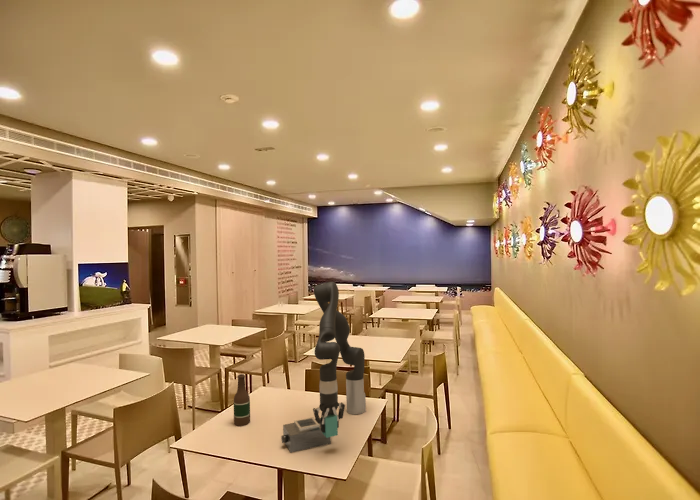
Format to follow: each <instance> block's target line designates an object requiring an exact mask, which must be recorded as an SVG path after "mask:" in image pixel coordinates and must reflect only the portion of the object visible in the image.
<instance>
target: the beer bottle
mask: <svg viewBox="0 0 700 500" xmlns="http://www.w3.org/2000/svg"><path fill="white" fill-rule="evenodd" d="M236 377H237V388H236V389H237V390H236V392H235V394H234V397H233V423H234V426H235V427H246V426H248V425H249V424H250V423H251V400H250V394H249V393H248V391H247V389H246V379H245V378H246V375H245V374H243V373H242V374H241V373H240V374H238V375H237V376H236Z"/></svg>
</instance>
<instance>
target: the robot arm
mask: <svg viewBox="0 0 700 500" xmlns="http://www.w3.org/2000/svg"><path fill="white" fill-rule="evenodd" d="M313 295H314V298H315V300H316V302H317V304H318V306H319V307H320V310H321V312H323V314H322V316H321V318H320V321H319V326H318V327H319V330H318V338H317V341H316V345H315V348H314V355H315V358H316V359H317V360H320V361H323V360H325V361H326V360H331V361H329V362H328V363H324V364H322V365H320V367H319V405H318V406H317V407H313V408H312V412H313V416H314V419H316V422H317V423H318V424H320V425H321V431H322V432H323V433H325V424H324V423H325V418H326V417H327V416H328V415H333V414H334V415H337V427H338V429H339V427H340V426H339V425H340V420H341V419H343V418H344V414H345V409H346V413H347V414H350V415H360V414H363V413H364V412H365V413H366V411H367V405H366V404H367V403H366V402H367V401H366V400H367V399H366V393H365V388H364V384H365V383H364V374H365V357H366V355H365V351H364V349H363V348H362V347H358V346H357V347H356V346H351V345H350V344H349V342H348V338H349V335H350V334H351V333H350V332H351V326H350V324H349V322H348V320H347V318H346V316H345V314H343V313H341V312H340V311H339V310H338V306H339V305H338V304H339V296H340V291H339V288H338V285H337V283H336V282H334V281H329V282H328V281H327V282H324V283H319V284H317V285H315V286H314V287H313ZM334 339H335V341H333V340H334ZM339 356H341V359H342V361H343V363H344V364H346V365H349V366H353V369H351V370H349V371H347V372H346V373H345V388H346V393H345V394H346V395H345V396H346V397H345V398H346V404H345V403H343V402H338V401H339V396H338V380H337V377H338V376H337V366H338V362H339V361H338V360H339ZM337 410H338V412H337ZM320 411H321V412H320ZM319 413H321V414H320V416H319Z"/></svg>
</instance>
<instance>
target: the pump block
mask: <svg viewBox="0 0 700 500" xmlns="http://www.w3.org/2000/svg"><path fill="white" fill-rule="evenodd" d="M337 415H338V414H337ZM337 415H334V414H333V415H328V416H327V417H326V418H325V423H324V424H325V433H323V432H322V433H323V434H324V435H325V437H326V438H328V437H331V438H332V437H336V436H339V434H338V431H339V428H338V427H337Z"/></svg>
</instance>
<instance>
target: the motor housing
mask: <svg viewBox="0 0 700 500" xmlns="http://www.w3.org/2000/svg"><path fill="white" fill-rule="evenodd" d="M282 428H283V429H282V433H283V435H281V436H280V438H281V439H280V440H281V444H284V445H285V446H286V448H287V449H288V451H289V453H291V454H292V453H296V452H300V451H305V450H309V449H314V448H317V447H318V448H319V447H322V446H326V445H331V444H332V437H328V438H326V437H325V435H324V434H323V433H322V431H321V425H320V424H318V423H317V422H316V419H315V417H307V418H301V419H296V420H293V422H292V423H286V424H283V425H282Z"/></svg>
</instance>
